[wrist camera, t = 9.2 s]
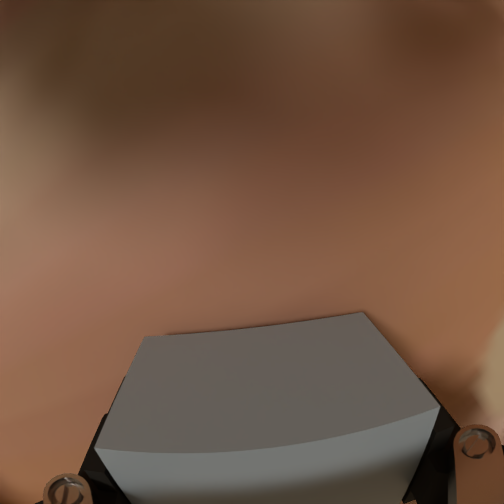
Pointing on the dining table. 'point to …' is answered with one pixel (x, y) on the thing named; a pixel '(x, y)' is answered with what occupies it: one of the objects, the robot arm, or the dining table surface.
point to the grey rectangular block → (268, 417)
